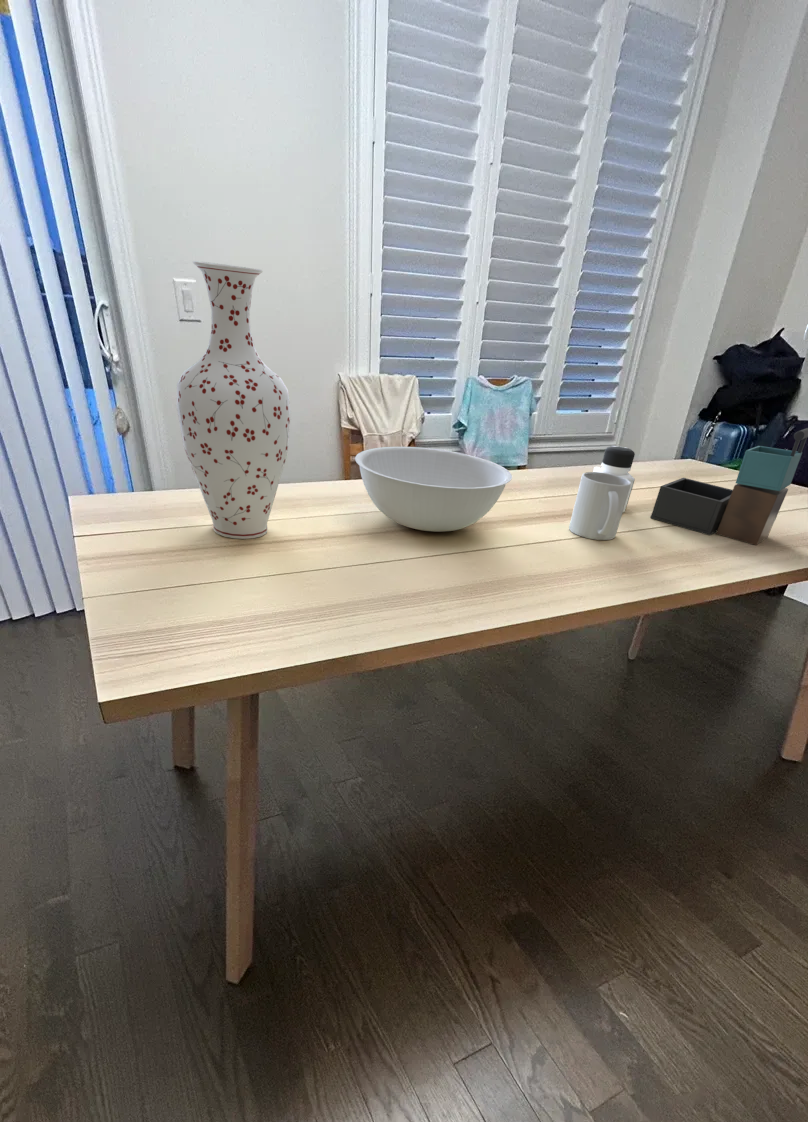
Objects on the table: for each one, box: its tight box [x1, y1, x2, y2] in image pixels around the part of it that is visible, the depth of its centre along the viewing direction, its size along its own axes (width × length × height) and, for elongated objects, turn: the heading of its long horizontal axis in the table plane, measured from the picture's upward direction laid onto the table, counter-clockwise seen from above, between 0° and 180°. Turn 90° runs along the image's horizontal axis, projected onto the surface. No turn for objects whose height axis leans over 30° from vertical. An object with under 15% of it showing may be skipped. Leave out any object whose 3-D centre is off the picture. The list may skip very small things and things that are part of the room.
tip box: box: [735, 427, 808, 491], centre depth 121 cm, size 8×9×10 cm
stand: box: [715, 483, 789, 546], centre depth 127 cm, size 8×9×10 cm
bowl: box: [354, 446, 513, 533], centre depth 112 cm, size 27×27×10 cm
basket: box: [650, 477, 733, 536], centre depth 133 cm, size 13×14×7 cm
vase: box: [176, 260, 292, 540], centre depth 92 cm, size 16×16×35 cm
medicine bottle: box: [592, 445, 636, 513], centre depth 134 cm, size 7×7×12 cm
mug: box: [568, 471, 631, 541], centre depth 117 cm, size 11×10×10 cm
